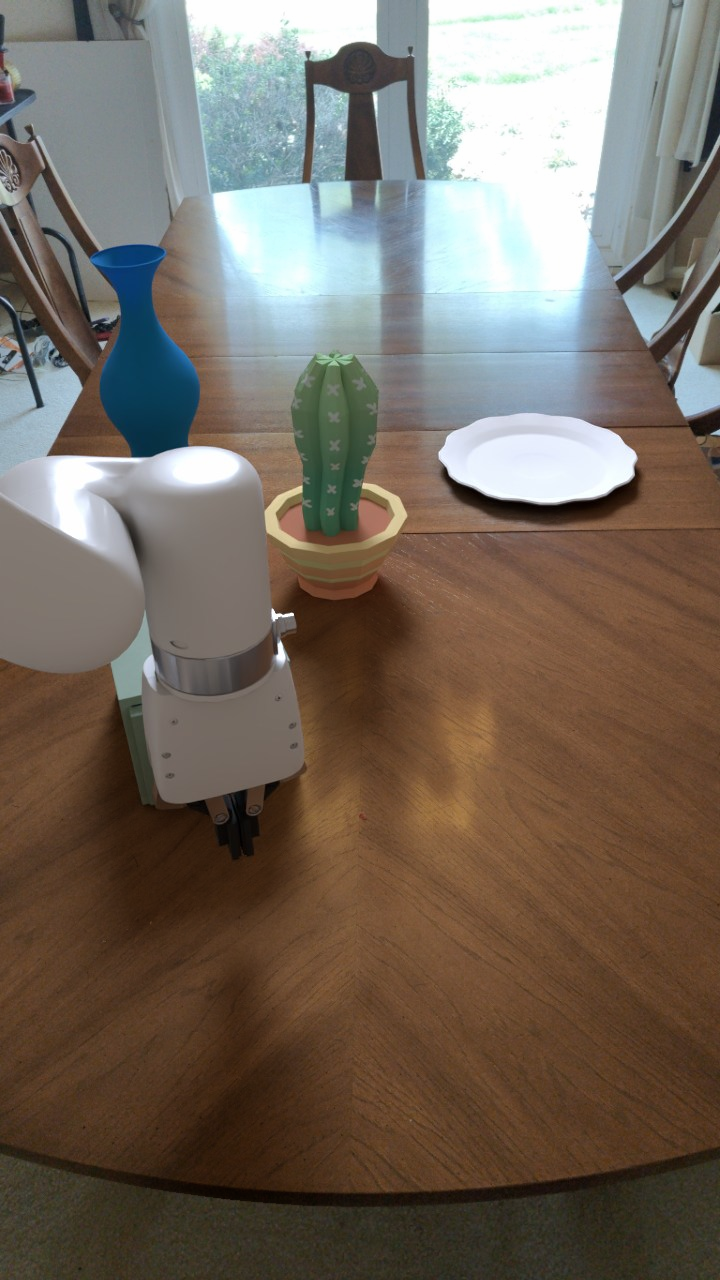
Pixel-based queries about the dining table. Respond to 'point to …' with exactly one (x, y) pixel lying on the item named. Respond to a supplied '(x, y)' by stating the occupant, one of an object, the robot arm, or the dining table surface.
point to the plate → (538, 459)
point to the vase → (145, 360)
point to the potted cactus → (335, 484)
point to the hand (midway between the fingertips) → (238, 843)
